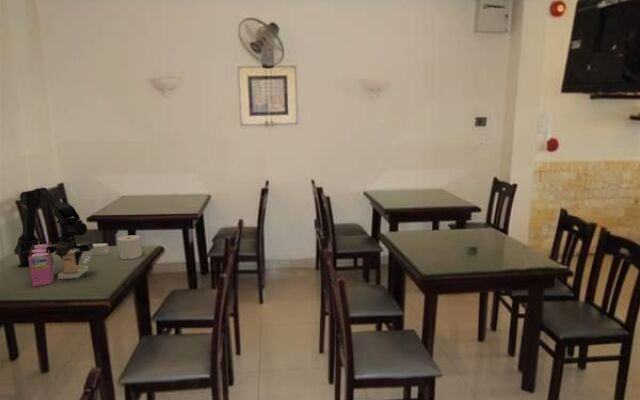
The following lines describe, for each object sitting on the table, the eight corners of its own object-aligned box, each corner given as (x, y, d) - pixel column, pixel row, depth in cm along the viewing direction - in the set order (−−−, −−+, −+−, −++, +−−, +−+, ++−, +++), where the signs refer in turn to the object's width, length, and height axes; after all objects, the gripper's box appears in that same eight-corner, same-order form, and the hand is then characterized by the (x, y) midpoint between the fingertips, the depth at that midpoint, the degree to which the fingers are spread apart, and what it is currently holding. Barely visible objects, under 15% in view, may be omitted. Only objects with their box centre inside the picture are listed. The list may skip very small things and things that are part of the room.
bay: (60, 265, 228) (59, 256, 227) (78, 253, 247) (76, 244, 246) (94, 264, 229) (93, 254, 228) (108, 252, 248) (107, 243, 247)
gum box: (36, 270, 222) (32, 243, 219) (55, 268, 225) (51, 241, 223) (32, 287, 201) (27, 257, 198) (53, 283, 204) (48, 254, 202)
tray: (58, 279, 209) (57, 274, 209) (69, 270, 220) (68, 266, 220) (78, 278, 210) (77, 273, 210) (88, 269, 221) (87, 265, 221)
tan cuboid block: (63, 273, 210) (61, 257, 209) (71, 268, 218) (69, 251, 217) (74, 273, 211) (71, 256, 209) (81, 267, 218) (79, 251, 217)
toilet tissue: (137, 259, 235) (135, 240, 233) (113, 260, 235) (111, 241, 233) (145, 253, 245) (143, 234, 243) (122, 253, 245) (120, 235, 243)
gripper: (37, 238, 203) (42, 272, 206) (81, 236, 204) (85, 270, 207) (50, 232, 214) (54, 264, 217) (91, 230, 215) (95, 262, 218)
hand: (72, 265), depth 214 cm, fingers closed on tan cuboid block, 4 cm apart
